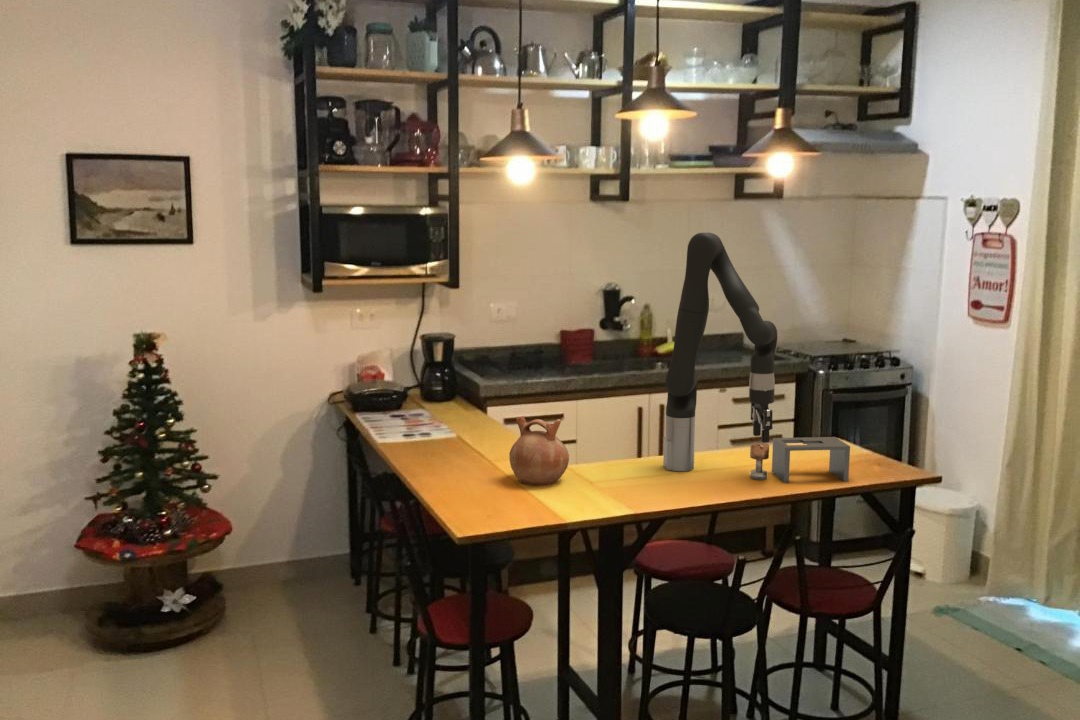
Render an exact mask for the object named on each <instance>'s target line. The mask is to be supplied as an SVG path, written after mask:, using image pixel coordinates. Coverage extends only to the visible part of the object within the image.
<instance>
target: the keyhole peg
mask: <svg viewBox="0 0 1080 720" xmlns="http://www.w3.org/2000/svg"><path fill="white" fill-rule="evenodd" d="M749 451H750V453H749V458H750V459H752V460H755V469H751V470H750V479H752V480H755V481H764V480H768V471H767V470H765V469H763V462H764V461H765V460H768V459H769V458H770V457H769V456H770V444H769V443H767V442H766V443H763V442H751V443H750V449H749ZM763 460H764V461H763Z"/></svg>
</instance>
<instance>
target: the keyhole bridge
mask: <svg viewBox="0 0 1080 720" xmlns="http://www.w3.org/2000/svg"><path fill="white" fill-rule="evenodd" d="M791 444H792V445H791ZM793 451H799V452H800V451H829V464H828V465H829V468H828V471H829V472H830V473H832V474H833V475H834V476H835V477H837V478H838V479H839V480H841V481H842V482H849V477H850V476H849V475H850V459H851V458H850V454H851V446H850V445H848V444H847V443H846V442H845V441H843V440H841V439H839V438H838V437H836V436H817V437H815V436H814V437H806V436H805V437H773V438H772V452H771V453H772V454H771V455H772V458H771V459H772V461H771V473H772V474H773V475H774V476H775V477H777V478H778V479H779V480H780V481H781V482H782V483H784V484H789V483H790V468H791V467H790V461H791V452H793Z"/></svg>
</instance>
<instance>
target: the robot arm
mask: <svg viewBox="0 0 1080 720" xmlns="http://www.w3.org/2000/svg"><path fill="white" fill-rule="evenodd" d="M722 241H723V240H721V238H720V236H718V235H717V234H715V233H713V232H697V233H696V234H694V235H692V237H691V238H690V240H689V241H688V244H687V251H686V261H685V262H686V266H685V275H684V280H683V285H682V289H681V295H680V300H679V304H678V309H677V315H676V316H677V317H676V323H675V329H674V340H673V341H674V343H673V350H672V354H671V355H672V356H671V360H670V363H669V366H668V370H667V373H666V376H665V380H664V381H665V387H666V389H667V400H666V405H665V436H664V437H663V467H664V469H666V471H674V472H689V471H692V470H694V469H695V441H696V440H695V439H696V437H695V436H696V431H695V429H696V408H697V394H698V375H697V373H696V371H695V369H696V368H695V367H696V360H697V355H698V351H699V348H700V345H701V343H702V340H703V336H704V335H705V334H704V333H705V331H706V326H707V322H708V316H709V311H710V310H709V309H710V294H709V276H710V271H712V273H713V274H714V275H715V277H716V279H717V280H718V282H719V284H720V287H721V290H722V292H723V295H724V297H725V299H726V301H727V303H728V305H729V306H730V307H731V309H732V311H734V313H735V315H736V316H737V318H738V320H739V322H740V324H741V327H742V328H743V332H744V333H745V336H746V337H747V339H748V340H749V341H750V342H751V344H753V345H754V349H753V353H752V354H751V356H750V367H749V368H750V371H749V372H750V373H749V380H748V381H749V384H748V386H749V387H748V401H749V402H750V420H751V422H752V424H753V425H752V427H753V428H752V434H753V435H752V436H754V437H760V436H761V443H766V444H767V443H769V442H770V431H771V430H773V412H774V411H773V410H772V409H770V408H769V405H770V404H773V403H774V402H775V390H776V389H775V386H776V385H775V384H776V383H775V353H776V351H777V344H778V330H777V327H776V325H775V324H774V323H773V322H772V321H771V320H770V321H769V320H764V319H763V318H762V316H761V314H760V307H759V304H758V303H757V300H755V298H754V297H753V295H752V294H751V293H752V292H750V291H749V289H748V288H747V286H746V284H744V282H743V280H742V279H741V277H740V276H739V273H738V272H737V269H735V267H734V265H733V263H732V261H731V259H730V256H729V255H728V253H727V250H726V248H725V246H724V244H723V242H722Z"/></svg>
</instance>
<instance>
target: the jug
mask: <svg viewBox="0 0 1080 720" xmlns="http://www.w3.org/2000/svg"><path fill="white" fill-rule="evenodd" d="M515 420H516V424H517V426H518V429H519V431H520V432H519V433H520V436H519V437H518V438H517V440H516V441H514V443H513V444H512V446H511V448H510V451H509V456H508V457H509V464H510V468H511V470H512V472H513V473H514V475H515V477H516V478H517V480H518V481H519V482H520V484H523V485H526V486H533V487H544V486H545V487H547V486H551V485H554V483H555V484H556V483H558V481H559V480H560V479H561V477H563V476H564V474H565V473H566V470H567V469H568V466H569V461H570V454H569V451H568V449H567V447H566V446H565V444H564V443H563V442H562V441H561V439H559V437H558V436H557V433H558V430H559V428H560V426H561V422H562V421H561V419H559V418H558V419H556V420H554V422H553V423H552V422H546V421H545V420H543V419H540V418H537V419H533V420H531V421H529V422H527V420H526V418H525V416H524V415H521V416H519V417H517V418H516V419H515ZM534 425H535V426H536V425H537V426H540V427H542V428H544V429H545V430H546V431H545V430H532V429H531V426H534Z"/></svg>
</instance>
